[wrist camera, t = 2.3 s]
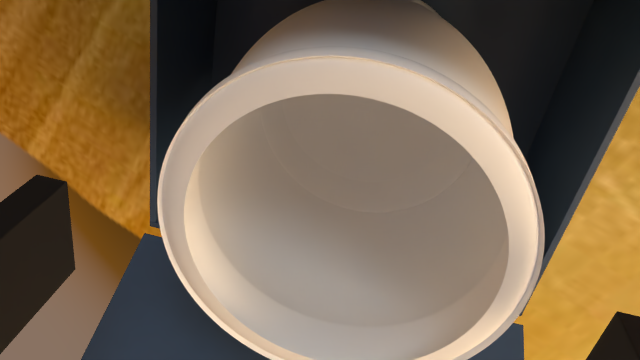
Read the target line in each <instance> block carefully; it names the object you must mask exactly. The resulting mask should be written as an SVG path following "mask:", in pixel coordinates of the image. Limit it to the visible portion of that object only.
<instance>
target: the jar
mask: <svg viewBox="0 0 640 360" xmlns="http://www.w3.org/2000/svg"><path fill="white" fill-rule="evenodd" d="M157 206H158V218H159V225H160V230H161V235H162V239H163V242H164V245H165V248H166V251H167V254H168V256H169V259H170V261H171V263H172V265H173V267H174V269H175V271H176V273H177V275H178V277H179V278H180V280H181V282H182V283H183V285H184V286H185V288H186V289H187V291H188V292H189V294H190V295H191V296H192V298H193V299H194V300H195V301H196V303H197V304H198V305H199V306H200V307H201V308H202V309H203V311H204V312H205V313H206V314H207V315H208V316H209V317H210V318H211V319H212V320H213V321H214V322H216V323H217V324H218V325H219V326H220V327H221V328H222V329H224V330H225V331H226V332H227V333H229V334H230V335H231V336H233V337H234V338H235V339H237V340H238V341H240V342H241V343H243V344H244V345H246V346H247V347H249V348H251V349H252V350H254V351H256V352H257V353H259V354H261V355H263V356H265V357H267V358H269V359H271V360H467V359H469V358H471V357H473V356H474V355H476V354H477V353H479V352H481V351H482V350H484V349H485V348H486V347H488V346H489V345H490V344H492V343H493V342H494V341H495V340H496V339H498V338H499V337H500V336H501V335H502V334H503V333H504V332H505V331H506V330H507V329H508V328H509V327H510V326H511V325H512V323H513V322H514V321H515V320H516V318H517V317H518V316H519V314H520V313H521V312H522V310H523V309H524V307H525V305H526V304H527V302H528V300H529V298H530V296H531V294H532V292H533V290H534V288H535V285H536V282H537V280H538V277H539V273H540V270H541V265H542V260H543V254H544V242H545V231H544V219H543V213H542V207H541V203H540V199H539V196H538V192H537V189H536V187H535V183H534V180H533V177H532V174H531V172H530V169H529V167H528V165H527V162H526V160H525V158H524V156H523V154H522V152H521V151H520V149H519V147H518V145H517V144H516V142H515V140H514V138H513V132H512V127H511V123H510V118H509V115H508V111H507V108H506V105H505V102H504V99H503V96H502V94H501V91H500V89H499V87H498V85H497V83H496V81H495V79H494V77H493V75H492V73H491V71H490V70H489V68H488V66H487V65H486V63H485V62H484V60H483V59H482V57H481V56H480V54H479V53H478V52H477V50H476V49H475V48H474V47H473V46H472V44H471V43H470V42H469V41H468V40H467V39H466V38H465V37H464V36H463V35H462V34H461V33H460V32H459V31H458V30H457V29H456V28H454V27H453V26H452V25H451V24H450V23H448V22H447V21H446V20H444V19H443V18H441V16H440V15H439V14H438V13H437V12H436V11H435V10H433V9H432V8H431V7H430V6H429V5H427V4H426V3H424V2H423V1H421V0H324V1H321V2H318V3H315V4H313V5H310V6H308V7H306V8H304V9H301V10H299V11H298V12H296V13H294V14H292V15H290V16H289V17H287V18H286V19H284V20H283V21H281V22H280V23H278V24H277V25H276V26H274V27H273V28H272V29H270V30H269V31H268V32H267V33H266V34H265V35H263V36H262V37H261V38H260V39H259V40H258V41H257V42H256V43H255V44H254V45H253V46H252V47H251V49H250V50H249V51H248V52H247V53H246V54H245V56H244V57H243V58H242V59H241V61H240V62H239V63H238V65H237V66H236V68H235V69H234V71H233V72H232V74H231V75H230V76H228V77H227V78H225V79H224V80H222V81H221V82H220V83H218V84H217V85H216V86H214V87H213V88H212V89H211V90H210V91H209V92H208V93H207V94H206V95H205V96H204V97H203V98H202V99H201V100H200V101H199V102H198V103H197V104H196V105H195V106H194V108H193V109H192V110H191V111H190V113H189V114H188V115H187V117H186V118H185V120H184V121H183V123H182V125H181V126H180V128H179V129H178V131H177V133H176V134H175V136H174V138H173V140H172V142H171V144H170V146H169V148H168V150H167V153H166V155H165V158H164V161H163V165H162V168H161V173H160V178H159V184H158V197H157Z"/></svg>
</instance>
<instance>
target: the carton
mask: <svg viewBox="0 0 640 360" xmlns="http://www.w3.org/2000/svg"><path fill="white" fill-rule="evenodd" d="M321 1H324V0H150V226H152V227H156V228H160V225H159V218H158V206H157V197H158V184H159V178H160V173H161V168H162V165H163V161H164V158H165V155H166V153H167V150H168V148H169V146H170V144H171V142H172V140H173V138H174V136H175V134H176V133H177V131H178V129H179V128H180V126H181V125H182V123H183V121H184V120H185V118H186V117H187V115H188V114H189V113H190V111H191V110H192V109H193V108H194V106H195V105H196V104H197V103H198V102H199V101H200V100H201V99H202V98H203V97H204V96H205V95H206V94H207V93H208V92H209V91H210V90H211V89H212V88H213V87H214V86H216V85H217V84H218V83H220V82H221V81H222V80H224V79H225V78H227V77H228V76H230V75H231V74H232V72H233V71H234V69H235V68H236V66H237V65H238V63H239V62H240V61H241V59H242V58H243V57H244V56H245V54H246V53H247V52H248V51H249V50H250V49H251V47H252V46H253V45H254V44H255V43H256V42H257V41H258V40H259V39H260V38H261V37H262V36H263V35H265V34H266V33H267V32H268V31H269V30H270V29H272V28H273V27H274V26H276V25H277V24H278V23H280V22H281V21H283V20H284V19H286V18H287V17H289V16H290V15H292V14H294V13H296V12H298V11H299V10H301V9H304V8H306V7H308V6H310V5H313V4H315V3H318V2H321ZM421 1H423V2H424V3H426V4H427V5H429V6H430V7H431V8H432V9H433V10H435V11H436V12H437V13H438V14H439V15H440V16H441V18H443V19H444V20H446V21H447V22H448V23H450V24H451V25H452V26H453V27H454V28H456V29H457V30H458V31H459V32H460V33H461V34H462V35H463V36H464V37H465V38H466V39H467V40H468V41H469V42H470V43H471V44H472V46H473V47H474V48H475V49H476V50H477V52H478V53H479V54H480V56H481V57H482V59H483V60H484V62H485V63H486V65H487V66H488V68H489V70H490V71H491V73H492V75H493V77H494V79H495V81H496V83H497V85H498V87H499V89H500V91H501V94H502V96H503V99H504V102H505V105H506V108H507V111H508V115H509V118H510V123H511V127H512V132H513V138H514V140H515V142H516V144H517V145H518V147H519V149H520V151H521V152H522V154H523V156H524V158H525V160H526V162H527V165H528V167H529V169H530V172H531V174H532V177H533V180H534V183H535V187H536V189H537V192H538V196H539V199H540V203H541V207H542V213H543V219H544V231H545V242H544V254H543V260H542V265H541V270H540V273H539V277H538V280H537V282H536V285H535V288H536V286H537V284H538V282H539V280H540V278H541V276H542V274H543V272H544V271H545V269H546V267H547V265H548V263H549V261H550V259H551V257H552V255H553V253H554V251H555V249H556V247H557V245H558V243H559V241H560V240H561V238H562V236H563V234H564V232H565V230H566V228H567V226H568V224H569V222H570V220H571V218H572V216H573V214H574V212H575V210H576V209H577V207H578V205H579V203H580V201H581V199H582V197H583V195H584V193H585V191H586V189H587V187H588V185H589V183H590V181H591V179H592V178H593V176H594V174H595V172H596V170H597V168H598V166H599V164H600V162H601V160H602V158H603V156H604V154H605V152H606V150H607V148H608V147H609V145H610V143H611V141H612V139H613V137H614V135H615V133H616V131H617V129H618V127H619V125H620V123H621V121H622V119H623V117H624V116H625V114H626V112H627V110H628V108H629V106H630V104H631V102H632V100H633V98H634V96H635V94H636V92H637V90H638V88H639V87H640V0H421ZM535 288H534V290H535ZM534 290H533V292H534ZM533 292H532V294H533ZM532 294H531V296H532ZM531 296H530V298H531ZM530 298H529V300H530ZM529 300H528V302H529ZM528 302H527V303H528ZM526 305H527V304H526ZM526 305H525V307H526ZM525 307H524V309H525ZM524 309H523V310H522V312H521V313H520V314H519V316H521V315H522V313H523V311H524Z"/></svg>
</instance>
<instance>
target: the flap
mask: <svg viewBox="0 0 640 360" xmlns="http://www.w3.org/2000/svg"><path fill="white" fill-rule="evenodd" d="M81 360H271V359H269V358H267V357H265V356H263V355H261V354H259V353H257V352H256V351H254V350H252V349H251V348H249V347H247V346H246V345H244V344H243V343H241V342H240V341H238V340H237V339H235V338H234V337H233V336H231V335H230V334H229V333H227V332H226V331H225V330H224V329H222V328H221V327H220V326H219V325H218V324H217V323H216V322H214V321H213V320H212V319H211V318H210V317H209V316H208V315H207V314H206V313H205V312H204V311H203V309H202V308H201V307H200V306H199V305H198V304H197V303H196V301H195V300H194V299H193V298H192V296H191V295H190V294H189V292H188V291H187V289H186V288H185V286H184V285H183V283H182V282H181V280H180V278H179V277H178V275H177V273H176V271H175V269H174V267H173V265H172V263H171V261H170V259H169V256H168V254H167V251H166V248H165V245H164V242H163V239H162V237H158V236H154V235H150V234H146V233H145V234H144V235H143V237H142V239H141V241H140V244H139V245H138V247H137V249H136V251H135V253H134V255H133V257H132V259H131V261H130V263H129V265H128V267H127V269H126V271H125V273H124V275H123V277H122V279H121V281H120V283H119V285H118V287H117V289H116V291H115V293H114V295H113V297H112V299H111V301H110V303H109V305H108V307H107V309H106V311H105V313H104V315H103V317H102V319H101V321H100V323H99V325H98V327H97V329H96V331H95V333H94V335H93V337H92V339H91V341H90V343H89V345H88V347H87V349H86V351H85V353H84V355H83V357H82V359H81ZM467 360H524V337H523V325H519V324H515V323H512V325H511V326H510V327H509V328H508V329H507V330H506V331H505V332H504V333H503V334H502V335H501V336H500V337H499V338H498V339H496V340H495V341H494V342H493V343H492V344H490V345H489V346H488V347H486V348H485V349H484V350H482V351H481V352H479V353H477V354H476V355H474V356H473V357H471V358H469V359H467Z"/></svg>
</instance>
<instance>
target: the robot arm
mask: <svg viewBox="0 0 640 360" xmlns="http://www.w3.org/2000/svg"><path fill="white" fill-rule="evenodd" d="M74 270H75V261H74V252H73V241H72V231H71V219H70V209H69V198H68V187H67V182H66V181H61V180H57V179H53V178H49V177H44V176H40V175H36V176H34V177H33V178H32V179H30V180H29V181H28V182H26V183H25V184H24V185H23V186H21V187H20V188H19V189H17V190H16V191H15V192H13V193H12V194H11V195H9V196H8V197H7V198H6V199H4V200H3V201H2V202H0V354H1V353H2V352H3V350H4V349H5V348H6V347H7V346H8V345H9V343H10V342H11V341H12V340H13V339H14V338H15V337H16V336H17V335H18V333H19V332H20V331H21V330H22V329H23V328H24V326H25V325H26V324H27V323H28V322H29V321H30V320H31V319H32V318H33V316H34V315H35V314H36V313H37V312H38V311H39V310H40V308H41V307H42V306H43V305H44V304H45V303H46V302H47V301H48V299H49V298H50V297H51V296H52V295H53V294H54V293H55V291H56V290H57V289H58V288H59V287H60V286H61V285H62V283H63V282H64V281H65V280H66V279H67V278H68V277H69V276H70V274H71V273H72V272H73V271H74ZM586 360H640V317H639V316H634V315H630V314H626V313H622V312H616V314H615V315H614V317H613V318H612V320H611V321H610V323H609V325H608V326H607V328H606V329H605V331H604V332H603V334H602V335H601V337H600V339H599V340H598V342H597V343H596V345H595V346H594V348H593V349H592V351H591V353H590V354H589V356H588V357H587V359H586Z"/></svg>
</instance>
